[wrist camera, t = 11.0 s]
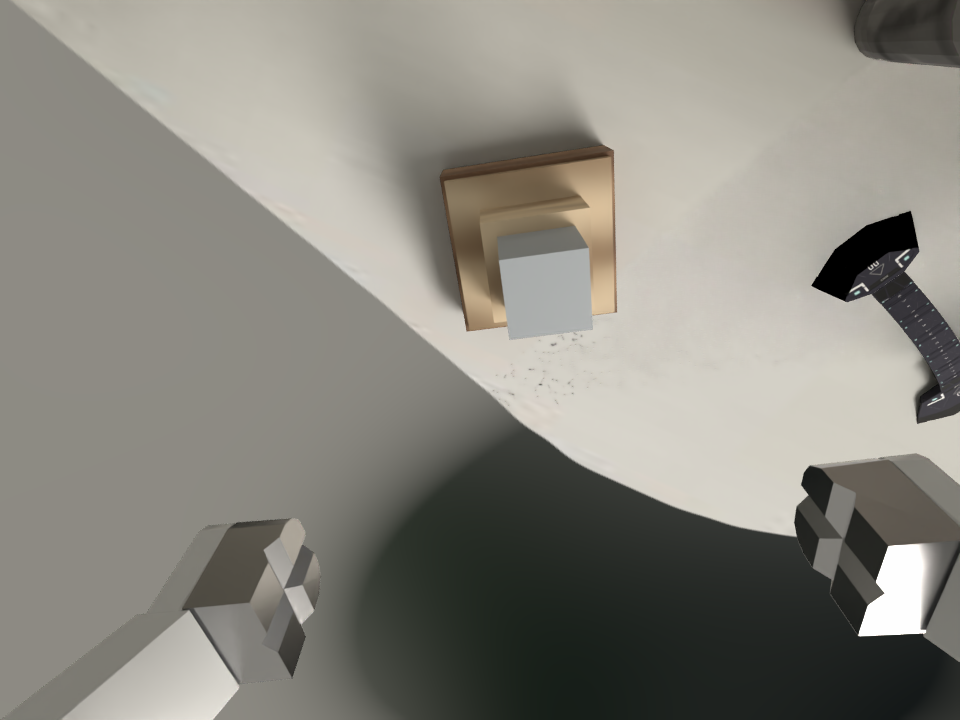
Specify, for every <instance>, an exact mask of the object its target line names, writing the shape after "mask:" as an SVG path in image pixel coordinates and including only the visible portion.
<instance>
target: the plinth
mask: <svg viewBox="0 0 960 720" xmlns="http://www.w3.org/2000/svg"><path fill="white" fill-rule="evenodd" d="M440 182H441V187H442V193H443V199H444V204H445V210H446V216H447V222H448V227H449V233H450V239H451V244H452V250H453V256H454V262H455V267H456V273H457V279H458V284H459V290H460V296H461V302H462V307H463V313H464V319H465V325H466V330H467V331H475V330H482V329H490V328H498V327H506V326H507V321H506V322H498V323H494V319H493V312H492V305H491V298H490V291H489V284H488V277H487V271H486V264H485V257H484V250H483V243H482V236H481V229H480V210H483V209H490V208H497V207H503V206H510V205H517V204H524V203H531V202H538V201H544V200H551V199H558V198H565V197H572V196H578V195H580V196H581V197H582V198H583V199H584V201H585V202H586V203H587V204H588V205H589V207H590V213H591V236H592V260H593V283H594V306H595V310H592V315H599V314H607V313H615V312H617V291H616V243H615V194H614V150H612V149H610V148H608V147H606V146H604V145H601V146H595V147H588V148H582V149H575V150H569V151H562V152H556V153H549V154H543V155H536V156H530V157H523V158H517V159H510V160H504V161H497V162H491V163H484V164H478V165H471V166H465V167H458V168H452V169H445V170H443V171H442V173H441V175H440Z"/></svg>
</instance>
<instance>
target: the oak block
mask: <svg viewBox="0 0 960 720" xmlns="http://www.w3.org/2000/svg"><path fill="white" fill-rule="evenodd" d="M569 226H576V228H577V230H578V231H579V233H580V234H581V236H582V238H583V239H584V241H585V242H586V244H587V246H588V247H589V260H590V282H591V304H592V310H595V306H594V283H593V260H592V236H591V213H590V207H589V205H588V204H587V203H586V202H585V201H584V199H583V198H582V197H581V196H580V195H578V196H572V197H565V198H558V199H551V200H544V201H538V202H531V203H524V204H517V205H510V206H503V207H497V208H490V209H483V210H480V229H481V236H482V243H483V250H484V257H485V264H486V271H487V277H488V284H489V291H490V298H491V305H492V312H493V319H494V323H498V322H506V321H507V318H506V311H505V303H504V295H503V288H502V280H501V273H500V265H499V255H498V242H497V237H499V236H506V235H513V234H520V233H527V232H534V231H541V230H548V229H555V228H562V227H569Z"/></svg>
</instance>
